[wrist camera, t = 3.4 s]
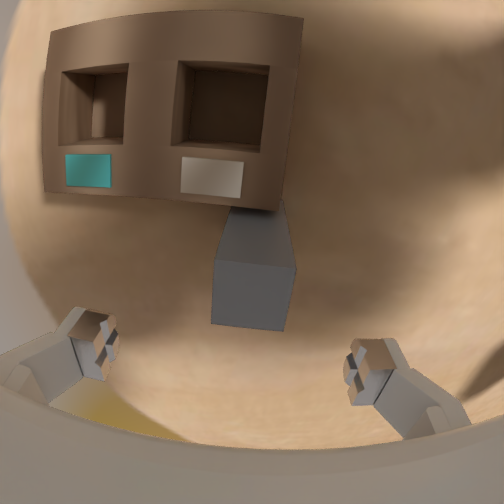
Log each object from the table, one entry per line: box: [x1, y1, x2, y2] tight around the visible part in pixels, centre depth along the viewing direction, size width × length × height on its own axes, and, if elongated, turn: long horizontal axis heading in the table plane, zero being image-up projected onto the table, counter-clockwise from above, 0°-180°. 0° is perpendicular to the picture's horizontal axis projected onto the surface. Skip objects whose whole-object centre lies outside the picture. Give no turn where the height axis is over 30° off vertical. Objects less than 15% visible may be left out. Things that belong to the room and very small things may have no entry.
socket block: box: [42, 10, 304, 211], centre depth 15 cm, size 14×10×4 cm
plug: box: [211, 200, 297, 331], centre depth 16 cm, size 3×3×9 cm
